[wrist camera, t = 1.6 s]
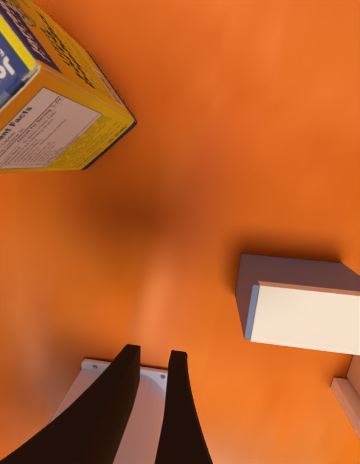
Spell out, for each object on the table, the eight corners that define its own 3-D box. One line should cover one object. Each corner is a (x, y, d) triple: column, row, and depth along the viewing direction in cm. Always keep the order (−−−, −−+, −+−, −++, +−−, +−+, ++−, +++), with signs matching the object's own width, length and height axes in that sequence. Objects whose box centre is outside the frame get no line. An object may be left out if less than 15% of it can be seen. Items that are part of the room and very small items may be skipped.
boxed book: (234, 295, 21) (244, 340, 16) (241, 252, 20) (253, 284, 14) (329, 306, 20) (373, 357, 15) (341, 262, 19) (394, 299, 14)
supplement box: (88, 51, 17) (-107, -135, 6) (139, 123, 18) (43, 64, 7) (34, 107, 18) (-195, 31, 8) (84, 171, 19) (-61, 179, 9)
